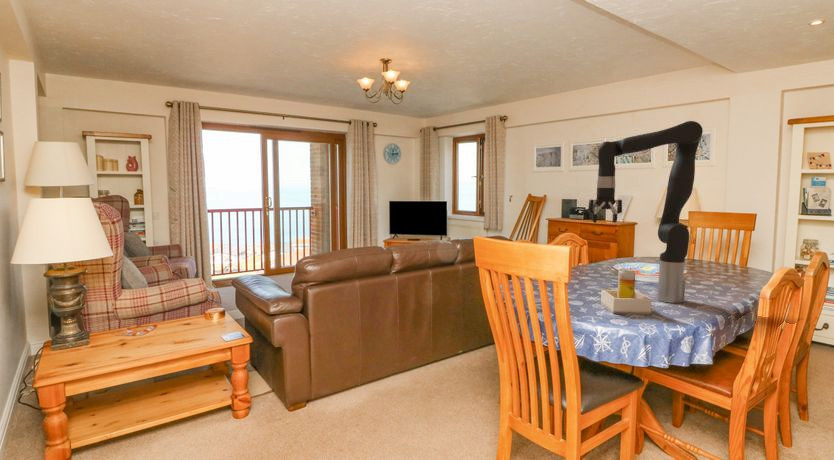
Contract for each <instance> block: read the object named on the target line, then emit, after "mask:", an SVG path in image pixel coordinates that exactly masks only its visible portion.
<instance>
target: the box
mask: <svg viewBox="0 0 834 460" xmlns="http://www.w3.org/2000/svg"><path fill="white" fill-rule="evenodd" d="M617 291H618V289H601V292H600V293H601V295H600V297H601V299H600V300H601V301H600V305H602V306H603V307H605V309H607V310H608V311H609V312H610V313H611V314H613V315H644V314H647V315H648V316H649V315H650V316H651V314H652V313H651V312H652V311H651V310H652V299H651V298H650V297H648V296H646V295H644V294H643V293H641V292H640V291H638V290H637V289H634V299H633V298H617Z"/></svg>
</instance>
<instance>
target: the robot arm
mask: <svg viewBox="0 0 834 460" xmlns="http://www.w3.org/2000/svg"><path fill="white" fill-rule="evenodd" d="M703 132H704V131H703V127H702V125H701V124H700V123H699V122H697V121H694V120H688V121H685V122H683V123H679V124H678V125H674V126H672V127H668V128H664V129H661V130H657V131H653V132H648V133H643V134H638V135H632V136H628V137H625V138H623V139H620V140H615V141H604V142H602V143H600V145H598V150H597V151H598V152H597V153H598V154H597V156H598V158H597V159H598V173H597V180H596V199H589V200H588V209H587V213H590V214H591V217H592V218H591V221H592V222H593V223H595V224H596V223H597V221H598V220H597V217H598V214H597V213H598V212H599V211H600V210H610V211H611V212H612V213H613V214H612V223H613V224H614V223H616V222H617V221H618V215H619V214H622V213H623V200H622V199H615V195H616V165H615V159H616V157H618V156H622V155H626V154H627V155H629V154H633V153H639V152H644V151H647V150H650V149H655V148H657V147H661V146H664V145H665V146H667V145H672V144H676V145H675V147H676V149H675V157H674V160H673V162H672V166H671V169H670V172H669V176H668V180H667V181H668V182H667V187H666V188H667V189H666V195H665V201H664V206H663V210H662V211H663V212H662V216H661V218H660V221H659V222H660V223H659V224H658V230H657V237H658V239H659V241H660V242H662V243H663V244H666V246H665V247H666V248H665V251H664V252H661V253H660V254H659V267H658V282H657V283H658V284H657V285H658V286H657V298H656V299H657V300H658V301H661V302H664V303H669V304H680V303H685V292H686V283H687V282H686V279H684V277H685V274H684V273H685V261H686V257H687V256H688V252H689V243H690V231H689V229H688V227H687V226H686V225H684V224H681V223H679V221H680V217H681V212H682V210H683V208H684V206H685V205H686V203H687V202H688V201H689V199H690V198H691V195H692V194H693V193H692V192H693V190H694V189H693V188H694V182H695V176H696V156H697V155H696V154H697V151H698V148H699V143H700V141H701V139H702V135H703ZM595 204H596V206H595V207H594V205H595ZM615 204H616V207H617V208H616V207H615V206H614V205H615Z"/></svg>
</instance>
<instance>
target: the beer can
mask: <svg viewBox="0 0 834 460" xmlns="http://www.w3.org/2000/svg"><path fill="white" fill-rule="evenodd" d="M635 285H636V272H635V269H632V268H620V269H619V271H618V273H617V290H618V291H617V298H633V299H634V290H635Z"/></svg>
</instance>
